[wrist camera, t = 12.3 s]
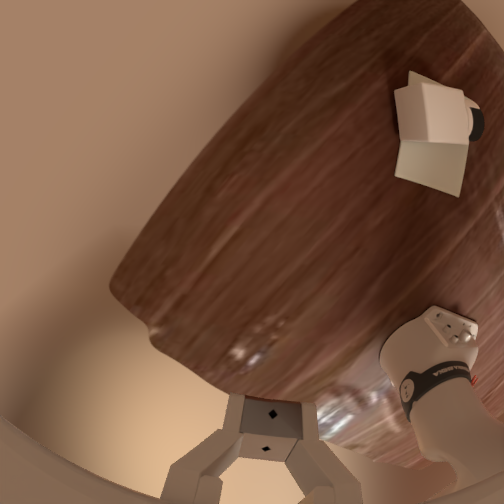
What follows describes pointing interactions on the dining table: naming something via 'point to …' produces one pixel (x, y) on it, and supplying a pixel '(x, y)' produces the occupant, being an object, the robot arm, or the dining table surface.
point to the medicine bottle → (437, 115)
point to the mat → (432, 158)
